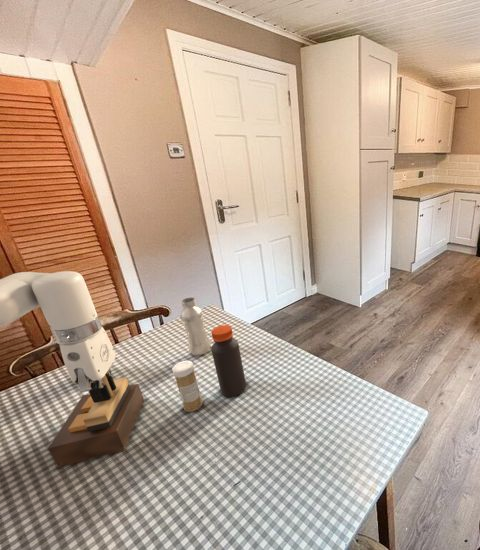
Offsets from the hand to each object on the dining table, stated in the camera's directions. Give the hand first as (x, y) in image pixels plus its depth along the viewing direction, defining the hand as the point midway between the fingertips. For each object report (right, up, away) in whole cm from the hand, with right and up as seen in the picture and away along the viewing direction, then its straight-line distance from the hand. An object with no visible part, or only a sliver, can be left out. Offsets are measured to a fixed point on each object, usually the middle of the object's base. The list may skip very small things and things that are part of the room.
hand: (105, 395), depth 71 cm
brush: (0, -4, +2) cm, 4 cm away
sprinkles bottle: (+15, -7, +10) cm, 20 cm away
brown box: (-2, -10, +3) cm, 11 cm away
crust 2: (-5, -3, +3) cm, 6 cm away
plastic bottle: (+5, +2, +32) cm, 33 cm away
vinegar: (+23, -5, +16) cm, 29 cm away
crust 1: (-3, -6, -2) cm, 7 cm away
